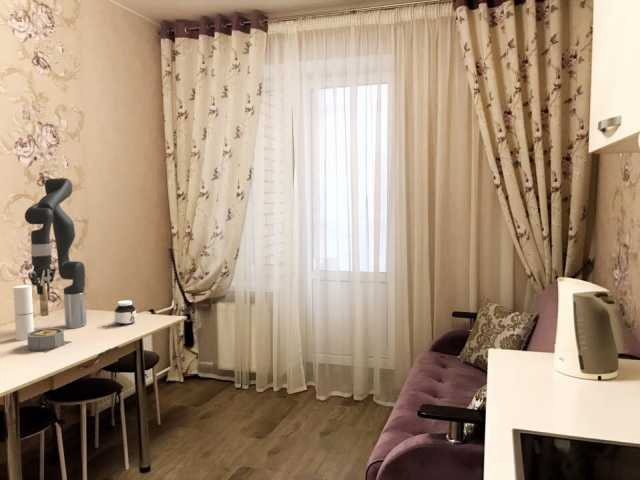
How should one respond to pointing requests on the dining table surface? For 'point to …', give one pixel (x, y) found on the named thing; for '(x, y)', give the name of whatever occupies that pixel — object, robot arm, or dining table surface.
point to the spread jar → (125, 313)
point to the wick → (44, 301)
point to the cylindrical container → (23, 311)
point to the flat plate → (44, 350)
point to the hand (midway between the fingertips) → (43, 293)
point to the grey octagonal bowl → (45, 339)
